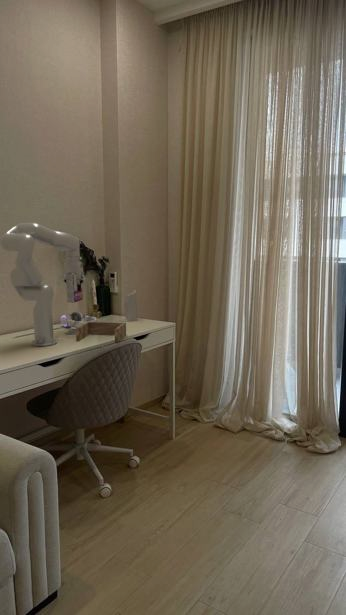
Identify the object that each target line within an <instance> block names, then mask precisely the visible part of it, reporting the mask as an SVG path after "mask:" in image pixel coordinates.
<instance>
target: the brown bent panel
mask: <svg viewBox="0 0 346 615" xmlns="http://www.w3.org/2000/svg"><path fill="white" fill-rule="evenodd" d="M75 330H76V335H75V337H76V338H75V340H76V341H75V342H80V341H82V340H83V339H85V338H86V337H88V336H89V335H99V336H100V335H101V336H114V343H118V342H120V340H122V339H123V338H125V337H126V336H127V323H126V322H113V321H111V322H107V321H103V322H87V323H85V324H83V325H81V326H79V327H78V328H75Z"/></svg>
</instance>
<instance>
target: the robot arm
mask: <svg viewBox="0 0 346 615" xmlns="http://www.w3.org/2000/svg"><path fill="white" fill-rule="evenodd" d="M35 242H38V243H40V244H43V245H45V246H50V247H53V248H54V250H57V251H59V252H65V259H66V261H65V263H64V268H63V269H64V272H63V275H61V280H62V281H63V282H64V283H65V284H66V274H68V273H76V279H77V282H78V285H77V290H78V292H79V291H81V284H82V285H83V283H84V282H85V281H86V280H87V276H85V274H84V267H83V262H82V260H83V257H81V254H80V238H78V237H76V236H74V235H73V234H70V233H67V232H62V231H58V230H56V229H51V228H50V227H49V228H48V227H46V226H44V225H42V224H40V223H37V222H21V223H20V222H19V223H17V224H16V225H14V226H12V227H11V228H10V229H8V231H6V232H5V233H4V234H3V235H1V238H0V247H1V248H2V250H4V251H6V252H17V255H16V257H15V261H14V263H15V267H14V268H13V269H12V270H11V272H10V275H9V280H10V284H12V287H14V289H15V291H16V293H17V294H18V295H19V297H20V298H21V299H22V300H23V301H27V302H36V303H35V305H34V307H33V309H32V311H33V312H32V314H33V329H34V330H33V331H34V332H33V333H34V335H33V336H34V339H32V341H31V345H32V346H34V347H35V346H36V347H47V346H48V347H49V346H53V345H56V344H57V342H58V341H57V339H55V338H54V336H55V334H54V319H53V298H54V289H53V287H52V285H50V284H48V283H44V282H43V276H42V274H41V272H40V270H39V268H38V267H37V265H36V264H35V261H34V259H33V252H34V248H35ZM81 279H82V280H81Z"/></svg>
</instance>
